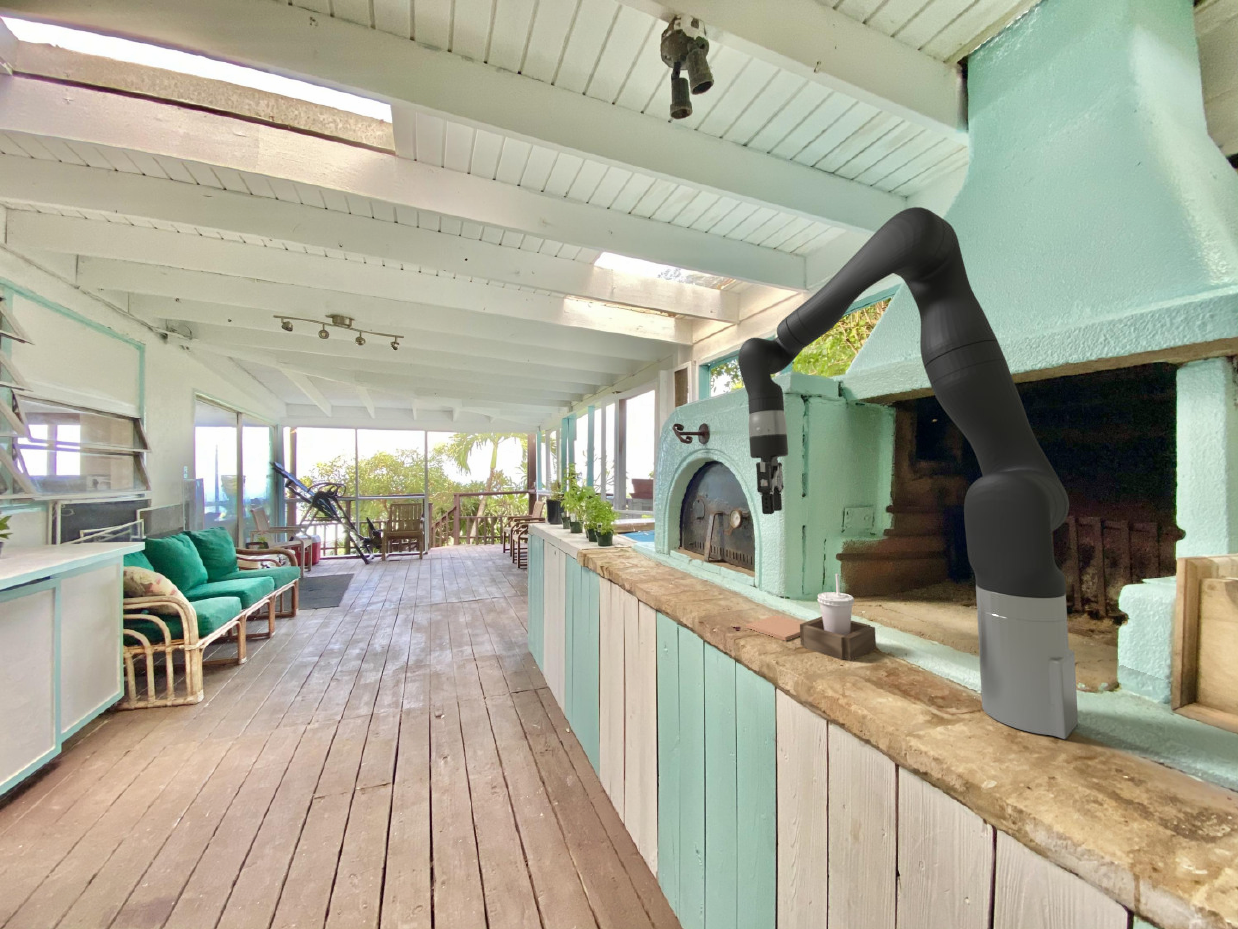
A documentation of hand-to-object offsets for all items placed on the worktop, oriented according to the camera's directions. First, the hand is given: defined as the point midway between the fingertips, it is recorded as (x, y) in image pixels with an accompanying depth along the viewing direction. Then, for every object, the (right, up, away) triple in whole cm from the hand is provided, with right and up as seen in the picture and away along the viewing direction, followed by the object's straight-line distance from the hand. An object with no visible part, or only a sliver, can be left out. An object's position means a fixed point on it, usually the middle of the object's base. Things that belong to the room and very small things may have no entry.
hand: (772, 512), depth 96 cm
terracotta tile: (+3, -26, +4) cm, 26 cm away
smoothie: (+10, -25, -7) cm, 28 cm away
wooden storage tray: (+10, -25, -7) cm, 28 cm away
